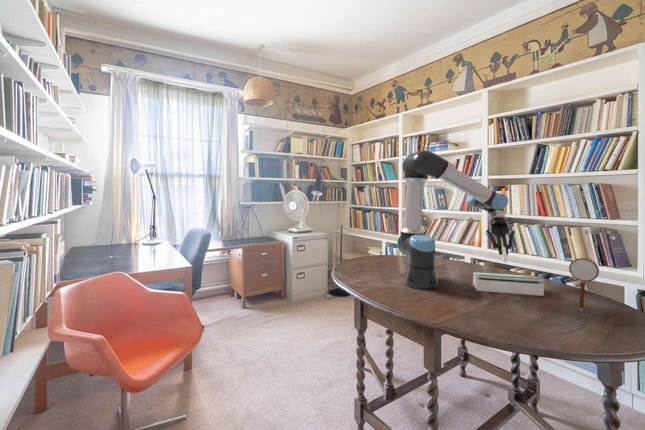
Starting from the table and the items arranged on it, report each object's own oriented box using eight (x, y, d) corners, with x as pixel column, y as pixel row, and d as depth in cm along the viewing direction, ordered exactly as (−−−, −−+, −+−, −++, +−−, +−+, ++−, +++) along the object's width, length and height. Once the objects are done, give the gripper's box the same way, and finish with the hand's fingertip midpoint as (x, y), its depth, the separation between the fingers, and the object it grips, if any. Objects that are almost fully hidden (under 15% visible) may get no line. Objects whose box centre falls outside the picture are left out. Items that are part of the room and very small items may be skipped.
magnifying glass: (596, 313, 114) (600, 260, 113) (595, 314, 113) (599, 260, 112) (567, 306, 121) (570, 256, 119) (566, 307, 120) (569, 256, 118)
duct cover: (477, 277, 140) (477, 274, 140) (473, 273, 150) (473, 271, 150) (544, 281, 133) (544, 278, 133) (535, 277, 142) (535, 274, 143)
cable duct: (477, 290, 141) (477, 279, 140) (473, 284, 150) (473, 274, 150) (543, 295, 133) (544, 284, 133) (534, 288, 143) (535, 278, 142)
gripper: (510, 226, 160) (518, 265, 145) (482, 225, 164) (488, 263, 149) (514, 216, 154) (523, 256, 140) (485, 216, 158) (490, 254, 144)
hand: (505, 260), depth 145 cm, fingers closed
